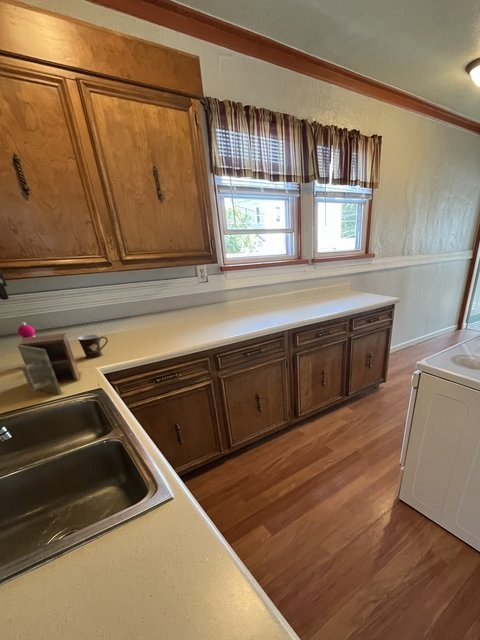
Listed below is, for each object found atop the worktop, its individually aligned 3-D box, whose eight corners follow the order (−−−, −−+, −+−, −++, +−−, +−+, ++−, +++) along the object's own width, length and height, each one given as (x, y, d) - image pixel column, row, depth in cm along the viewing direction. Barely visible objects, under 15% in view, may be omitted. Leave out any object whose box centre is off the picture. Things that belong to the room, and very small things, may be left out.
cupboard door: (41, 402, 118) (21, 356, 110) (16, 396, 122) (-4, 351, 114) (62, 393, 124) (45, 349, 116) (37, 388, 129) (20, 345, 121)
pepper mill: (47, 360, 157) (31, 319, 148) (50, 364, 153) (34, 322, 144) (28, 364, 153) (11, 322, 144) (31, 368, 148) (13, 324, 139)
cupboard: (78, 381, 135) (63, 339, 127) (37, 388, 129) (19, 344, 121) (79, 373, 143) (65, 333, 135) (40, 379, 137) (23, 337, 129)
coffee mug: (83, 360, 158) (76, 340, 153) (85, 355, 165) (79, 335, 160) (109, 357, 162) (104, 337, 157) (111, 352, 169) (106, 333, 164)
